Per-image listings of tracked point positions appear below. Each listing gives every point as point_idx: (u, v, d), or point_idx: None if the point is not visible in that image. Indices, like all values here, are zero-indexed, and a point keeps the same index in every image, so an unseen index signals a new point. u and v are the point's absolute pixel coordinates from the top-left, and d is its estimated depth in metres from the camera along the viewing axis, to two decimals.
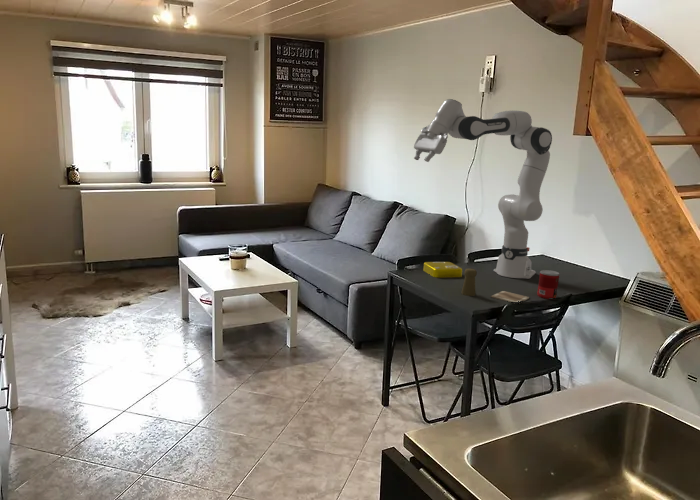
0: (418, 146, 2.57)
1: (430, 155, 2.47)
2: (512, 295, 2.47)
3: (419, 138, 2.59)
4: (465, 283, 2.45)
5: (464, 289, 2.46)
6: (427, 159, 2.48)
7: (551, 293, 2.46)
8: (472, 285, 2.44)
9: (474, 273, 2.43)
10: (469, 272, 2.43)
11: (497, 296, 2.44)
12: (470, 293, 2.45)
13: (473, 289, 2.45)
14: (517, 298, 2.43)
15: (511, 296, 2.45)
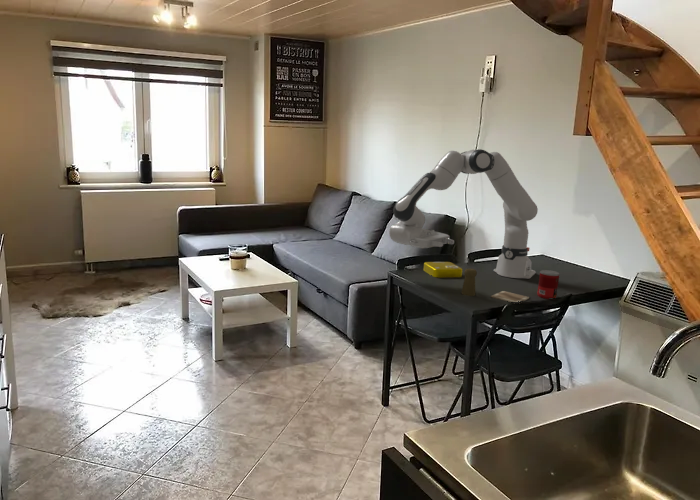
0: (442, 244, 2.59)
1: (435, 244, 2.48)
2: (512, 295, 2.47)
3: None
4: (465, 283, 2.45)
5: (464, 289, 2.46)
6: (439, 245, 2.47)
7: (551, 293, 2.46)
8: (472, 285, 2.44)
9: (474, 273, 2.43)
10: (469, 272, 2.43)
11: (497, 296, 2.44)
12: (470, 293, 2.45)
13: (473, 289, 2.45)
14: (517, 298, 2.43)
15: (511, 296, 2.45)
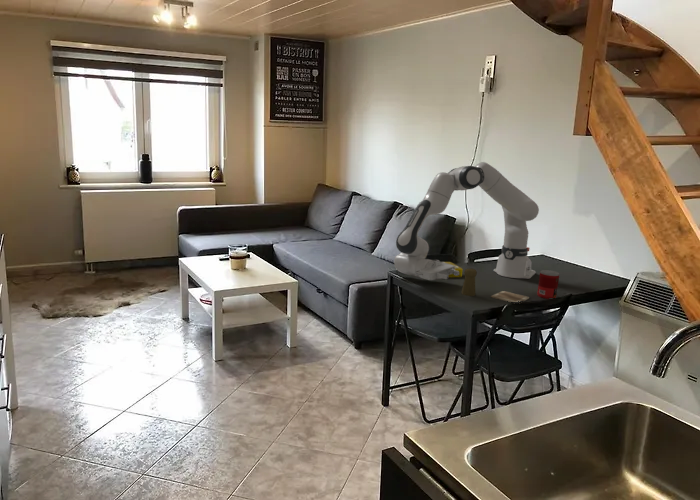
0: None
1: (440, 277, 2.48)
2: (512, 295, 2.47)
3: None
4: (465, 283, 2.45)
5: (464, 289, 2.46)
6: (445, 277, 2.48)
7: (551, 293, 2.46)
8: (472, 285, 2.44)
9: (474, 273, 2.43)
10: (469, 272, 2.43)
11: (497, 296, 2.44)
12: (470, 293, 2.45)
13: (473, 289, 2.45)
14: (517, 298, 2.43)
15: (511, 296, 2.45)
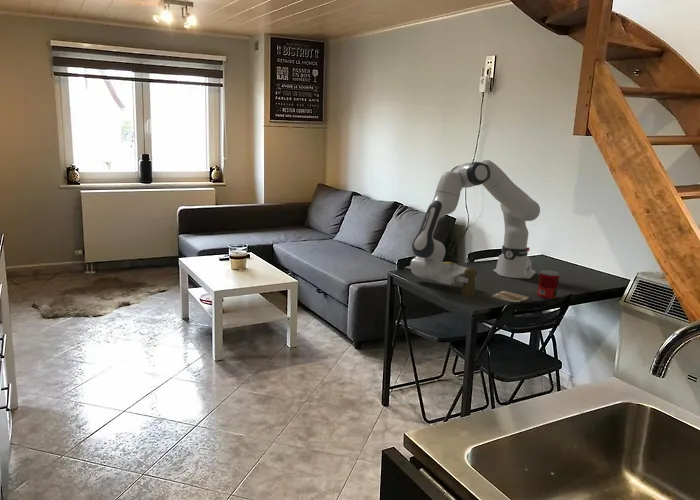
0: None
1: (461, 280, 2.44)
2: (512, 295, 2.47)
3: None
4: (465, 283, 2.45)
5: (464, 289, 2.46)
6: (466, 281, 2.44)
7: (551, 293, 2.46)
8: (472, 285, 2.44)
9: (474, 273, 2.43)
10: (469, 272, 2.43)
11: (497, 296, 2.44)
12: (470, 293, 2.45)
13: (473, 289, 2.45)
14: (517, 298, 2.43)
15: (511, 296, 2.45)
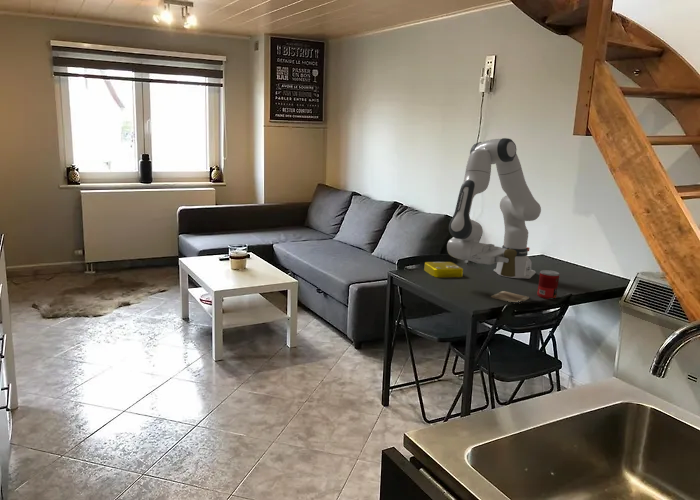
0: None
1: (501, 260, 2.40)
2: (512, 295, 2.47)
3: None
4: (505, 264, 2.41)
5: (504, 270, 2.42)
6: (506, 261, 2.40)
7: (551, 293, 2.46)
8: (512, 265, 2.40)
9: (514, 253, 2.39)
10: (509, 252, 2.39)
11: (497, 296, 2.44)
12: (510, 274, 2.41)
13: (513, 270, 2.41)
14: (517, 298, 2.43)
15: (511, 296, 2.45)
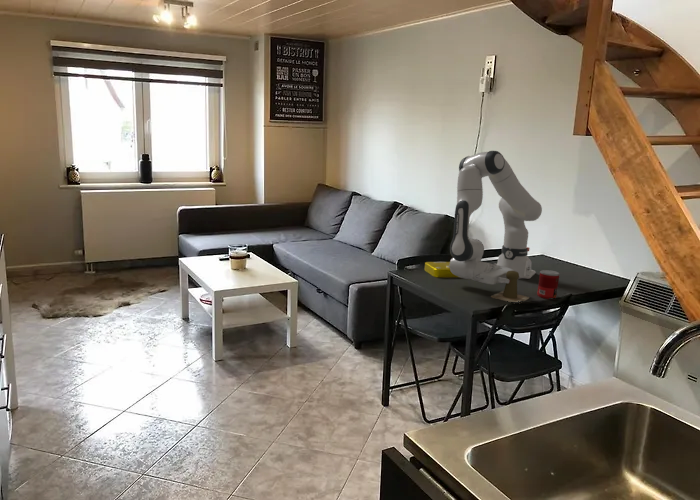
0: None
1: (501, 281, 2.40)
2: None
3: None
4: (507, 285, 2.43)
5: (506, 292, 2.43)
6: (507, 281, 2.39)
7: (551, 293, 2.46)
8: (515, 287, 2.42)
9: (517, 275, 2.41)
10: (512, 274, 2.41)
11: (497, 296, 2.44)
12: (512, 296, 2.42)
13: (516, 292, 2.42)
14: (517, 298, 2.43)
15: None
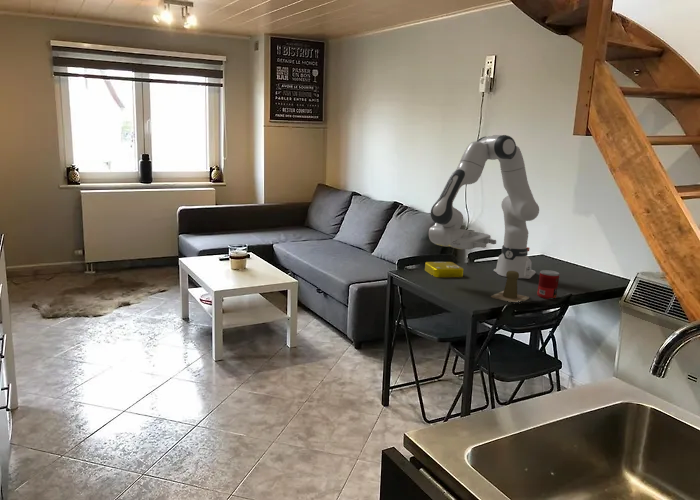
0: None
1: (478, 245, 2.45)
2: None
3: None
4: (507, 285, 2.43)
5: (506, 292, 2.43)
6: (483, 246, 2.45)
7: (551, 293, 2.46)
8: (515, 287, 2.42)
9: (517, 275, 2.41)
10: (512, 274, 2.41)
11: (497, 296, 2.44)
12: (512, 296, 2.42)
13: (516, 292, 2.42)
14: (517, 298, 2.43)
15: None
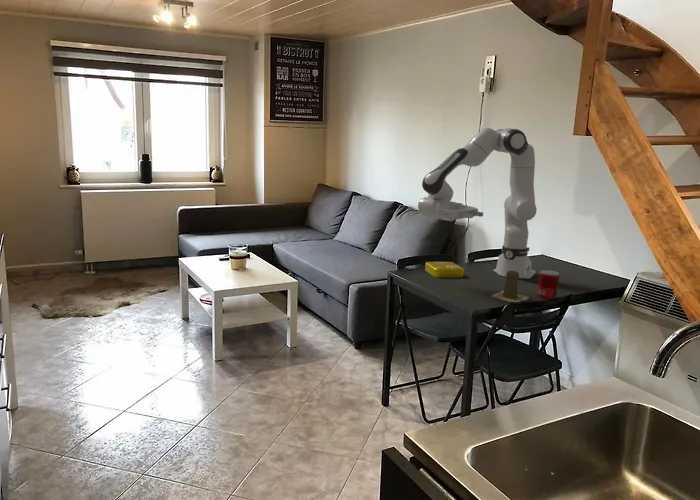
0: None
1: (465, 216, 2.52)
2: None
3: None
4: (507, 285, 2.43)
5: (506, 292, 2.43)
6: (469, 216, 2.51)
7: (551, 293, 2.46)
8: (515, 287, 2.42)
9: (517, 275, 2.41)
10: (512, 274, 2.41)
11: (497, 296, 2.44)
12: (512, 296, 2.42)
13: (516, 292, 2.42)
14: (517, 298, 2.43)
15: None
